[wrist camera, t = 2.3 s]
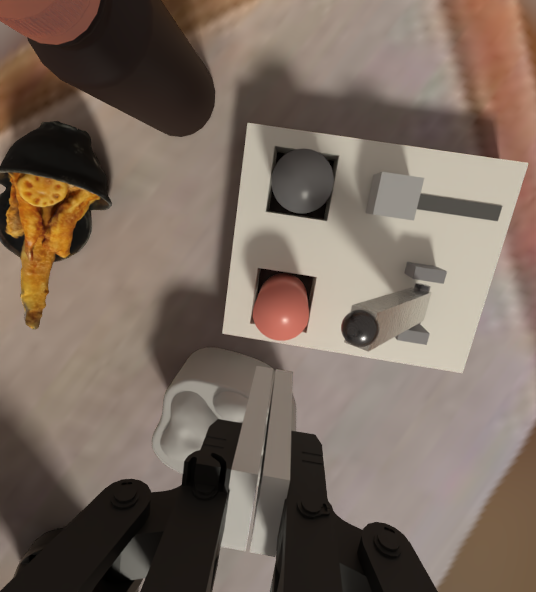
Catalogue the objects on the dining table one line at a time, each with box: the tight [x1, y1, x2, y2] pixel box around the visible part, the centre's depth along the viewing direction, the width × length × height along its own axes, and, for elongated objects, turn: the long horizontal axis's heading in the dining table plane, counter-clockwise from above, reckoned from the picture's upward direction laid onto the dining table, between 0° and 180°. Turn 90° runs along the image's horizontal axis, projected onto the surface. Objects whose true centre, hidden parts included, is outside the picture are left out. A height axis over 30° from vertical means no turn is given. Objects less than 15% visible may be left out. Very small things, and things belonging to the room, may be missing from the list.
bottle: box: [0, 0, 215, 137], centre depth 23 cm, size 7×7×20 cm
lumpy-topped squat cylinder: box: [152, 347, 296, 486], centre depth 36 cm, size 10×13×9 cm
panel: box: [222, 123, 528, 373], centre depth 32 cm, size 22×18×6 cm
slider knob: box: [366, 172, 424, 220], centre depth 28 cm, size 3×3×3 cm
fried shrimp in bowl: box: [0, 121, 112, 329], centre depth 32 cm, size 9×11×18 cm
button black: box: [271, 148, 334, 213], centre depth 28 cm, size 4×4×6 cm
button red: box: [253, 273, 309, 341], centre depth 31 cm, size 4×4×6 cm
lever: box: [341, 283, 432, 352], centre depth 26 cm, size 2×3×13 cm
